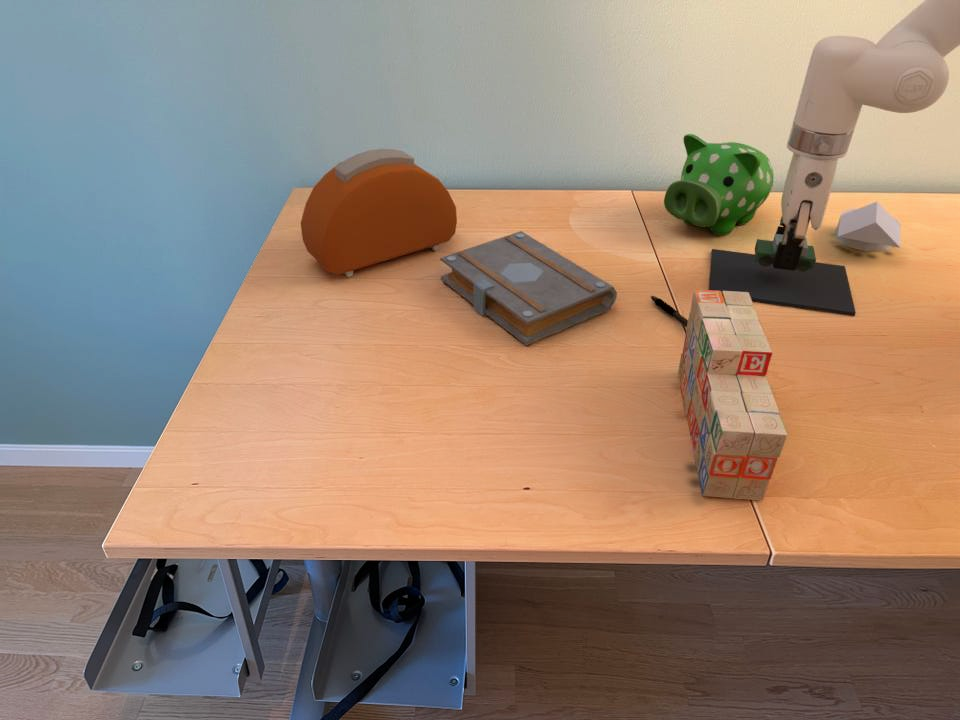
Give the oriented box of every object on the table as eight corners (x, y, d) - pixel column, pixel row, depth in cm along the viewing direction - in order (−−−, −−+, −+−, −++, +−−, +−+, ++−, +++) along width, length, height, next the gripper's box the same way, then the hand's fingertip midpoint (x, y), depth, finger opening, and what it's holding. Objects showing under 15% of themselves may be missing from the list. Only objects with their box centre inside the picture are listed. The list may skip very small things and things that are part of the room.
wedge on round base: (893, 267, 110) (893, 232, 119) (908, 228, 105) (907, 195, 115) (831, 255, 113) (836, 223, 122) (844, 217, 109) (848, 186, 118)
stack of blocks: (764, 502, 71) (796, 411, 63) (701, 498, 71) (726, 406, 64) (727, 374, 88) (749, 289, 80) (676, 371, 88) (694, 287, 81)
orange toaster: (432, 226, 122) (427, 130, 111) (459, 246, 115) (456, 147, 105) (305, 262, 111) (287, 160, 101) (327, 286, 105) (311, 180, 95)
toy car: (816, 237, 103) (819, 250, 99) (809, 259, 105) (811, 273, 102) (759, 230, 104) (760, 243, 101) (753, 251, 107) (754, 265, 103)
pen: (723, 348, 92) (724, 341, 91) (713, 351, 91) (714, 344, 91) (656, 298, 102) (658, 291, 101) (647, 300, 101) (648, 294, 101)
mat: (843, 269, 109) (844, 265, 109) (854, 316, 98) (856, 312, 98) (711, 251, 114) (712, 248, 113) (708, 295, 103) (708, 291, 103)
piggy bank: (648, 225, 122) (662, 140, 112) (707, 196, 131) (724, 116, 122) (720, 254, 113) (741, 164, 104) (777, 220, 123) (801, 136, 114)
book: (614, 309, 100) (618, 279, 97) (523, 348, 92) (525, 317, 89) (524, 252, 114) (525, 224, 111) (438, 282, 106) (437, 253, 103)
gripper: (857, 164, 86) (814, 292, 97) (842, 121, 98) (806, 238, 109) (792, 158, 87) (757, 284, 98) (786, 116, 100) (755, 232, 111)
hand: (783, 259), depth 104 cm, fingers closed on toy car, 4 cm apart
